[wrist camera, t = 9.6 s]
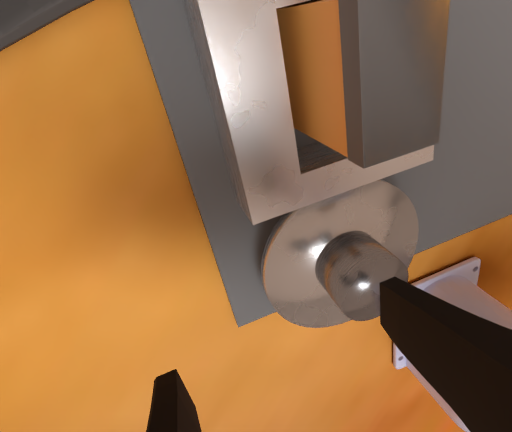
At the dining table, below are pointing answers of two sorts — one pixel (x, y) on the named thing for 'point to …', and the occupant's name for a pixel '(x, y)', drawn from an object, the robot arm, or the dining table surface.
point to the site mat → (408, 181)
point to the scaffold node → (299, 176)
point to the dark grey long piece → (31, 17)
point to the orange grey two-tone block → (367, 74)
